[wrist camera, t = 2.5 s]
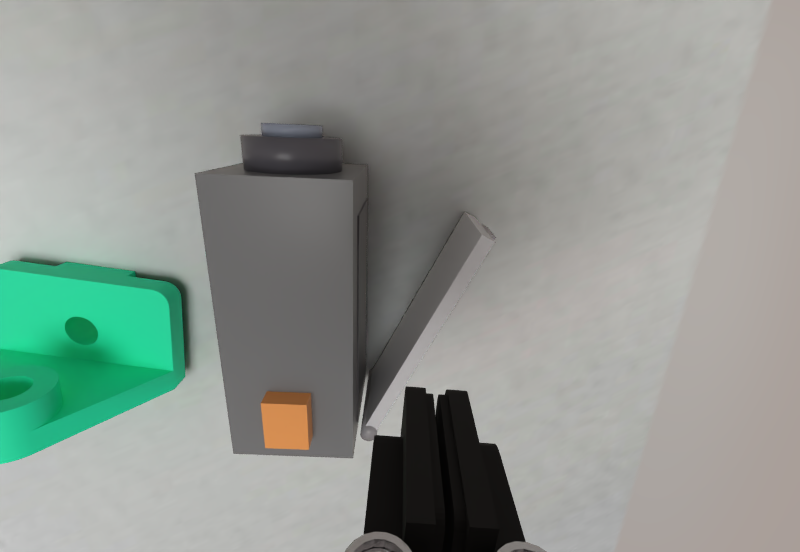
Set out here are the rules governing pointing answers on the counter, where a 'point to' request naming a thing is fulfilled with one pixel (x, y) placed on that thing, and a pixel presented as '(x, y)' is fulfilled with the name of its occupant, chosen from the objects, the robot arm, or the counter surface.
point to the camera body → (289, 290)
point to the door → (425, 318)
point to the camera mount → (81, 349)
